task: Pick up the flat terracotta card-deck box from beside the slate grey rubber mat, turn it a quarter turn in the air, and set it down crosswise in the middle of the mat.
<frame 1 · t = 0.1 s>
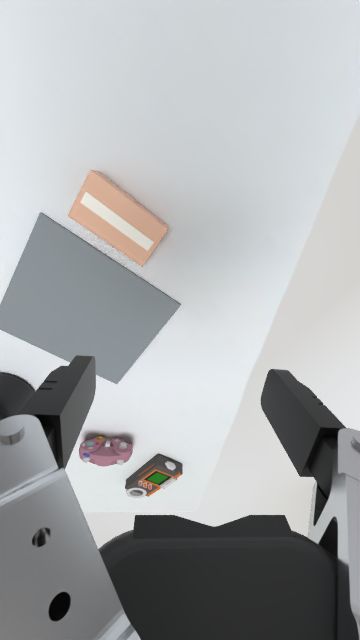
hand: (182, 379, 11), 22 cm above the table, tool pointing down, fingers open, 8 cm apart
mat: (86, 313, 34), on the table
deck box: (125, 219, 28), on the table
video game controller: (109, 437, 47), on the table
ink bottle: (9, 391, 40), on the table
electronic device: (150, 471, 54), on the table
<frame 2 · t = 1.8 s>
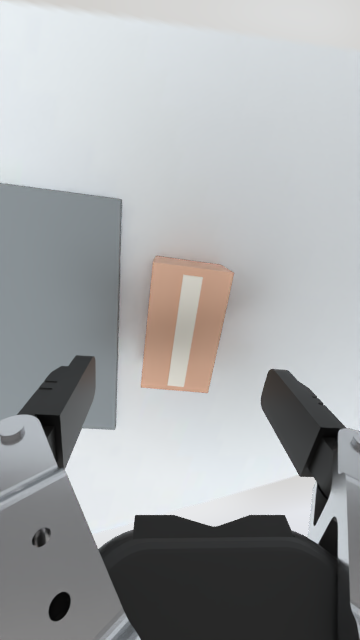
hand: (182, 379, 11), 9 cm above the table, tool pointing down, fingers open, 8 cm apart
mat: (3, 323, 19), on the table
deck box: (180, 315, 19), on the table
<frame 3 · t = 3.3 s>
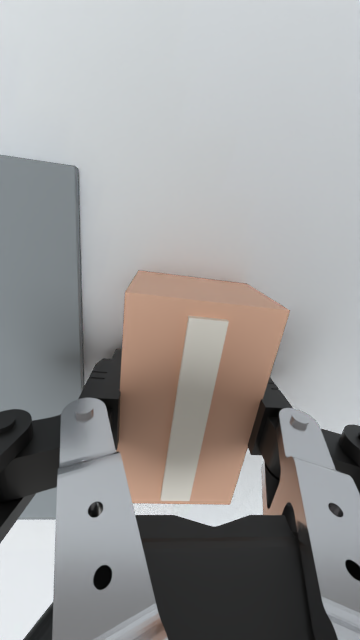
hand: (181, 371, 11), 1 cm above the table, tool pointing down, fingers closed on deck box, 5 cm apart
deck box: (180, 363, 12), on the table, touching gripper
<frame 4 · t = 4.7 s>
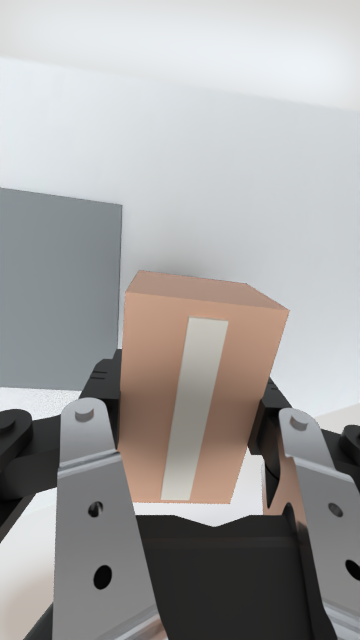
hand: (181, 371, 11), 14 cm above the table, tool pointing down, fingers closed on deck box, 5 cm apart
mat: (26, 302, 23), on the table
deck box: (180, 362, 12), point 13 cm above the table, touching gripper
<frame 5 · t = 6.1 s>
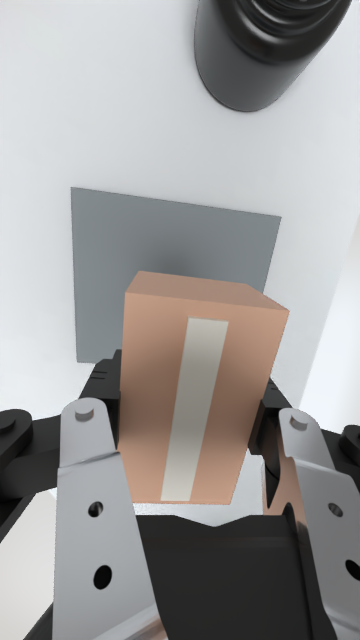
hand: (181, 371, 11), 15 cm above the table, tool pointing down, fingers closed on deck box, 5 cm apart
mat: (170, 294, 26), on the table
deck box: (180, 363, 12), point 14 cm above the table, touching gripper
ink bottle: (247, 47, 19), on the table
when the fingers open (2 cm above the table, at t = 8.8 s): deck box drops 1 cm, resting on mat.
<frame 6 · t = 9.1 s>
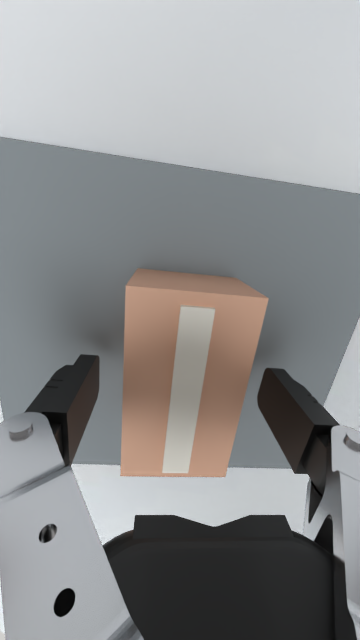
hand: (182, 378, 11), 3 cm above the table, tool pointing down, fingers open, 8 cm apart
mat: (178, 348, 14), on the table
deck box: (178, 352, 13), resting on mat
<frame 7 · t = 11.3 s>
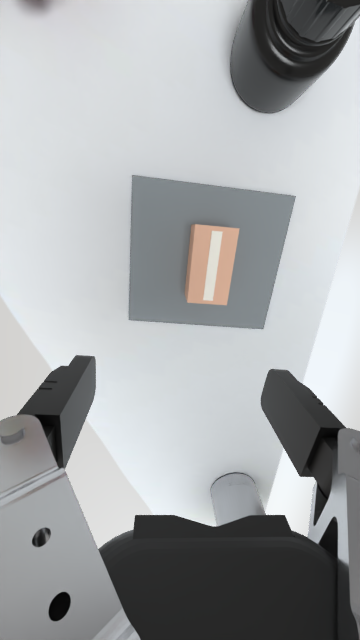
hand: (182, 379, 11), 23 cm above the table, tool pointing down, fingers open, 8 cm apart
mat: (205, 262, 32), on the table
deck box: (206, 262, 31), resting on mat
ink bottle: (270, 63, 25), on the table
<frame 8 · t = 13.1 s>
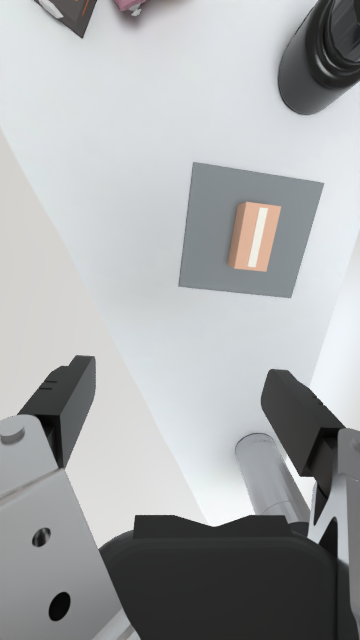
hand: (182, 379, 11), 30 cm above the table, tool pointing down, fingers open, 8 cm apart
mat: (246, 237, 38), on the table
deck box: (247, 237, 37), resting on mat
ink bottle: (309, 75, 31), on the table
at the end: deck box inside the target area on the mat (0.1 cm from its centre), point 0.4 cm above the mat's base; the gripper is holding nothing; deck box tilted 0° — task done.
